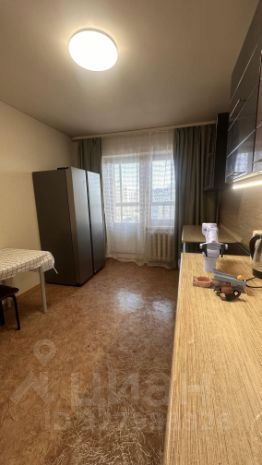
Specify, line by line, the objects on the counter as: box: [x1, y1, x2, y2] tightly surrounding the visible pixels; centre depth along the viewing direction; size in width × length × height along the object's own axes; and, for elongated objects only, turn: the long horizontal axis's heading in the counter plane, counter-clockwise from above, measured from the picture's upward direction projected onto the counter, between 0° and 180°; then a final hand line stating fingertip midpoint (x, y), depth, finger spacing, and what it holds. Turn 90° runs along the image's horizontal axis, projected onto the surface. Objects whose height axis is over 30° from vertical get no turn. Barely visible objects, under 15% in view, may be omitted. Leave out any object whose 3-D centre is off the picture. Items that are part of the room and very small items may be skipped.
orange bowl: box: [195, 275, 213, 288], centre depth 110 cm, size 9×9×3 cm
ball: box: [237, 274, 245, 281], centre depth 104 cm, size 3×3×3 cm
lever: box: [212, 268, 247, 289], centre depth 109 cm, size 13×15×4 cm
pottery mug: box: [213, 284, 242, 302], centre depth 97 cm, size 12×10×8 cm
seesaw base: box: [192, 275, 247, 294], centre depth 110 cm, size 14×26×4 cm, turn 70°
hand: (214, 255), depth 109 cm, fingers open, 7 cm apart
